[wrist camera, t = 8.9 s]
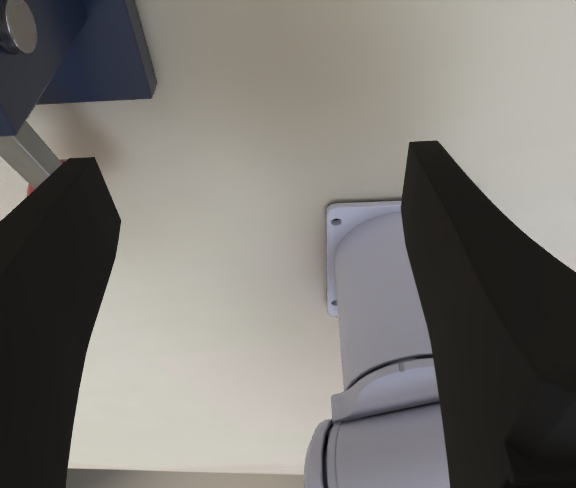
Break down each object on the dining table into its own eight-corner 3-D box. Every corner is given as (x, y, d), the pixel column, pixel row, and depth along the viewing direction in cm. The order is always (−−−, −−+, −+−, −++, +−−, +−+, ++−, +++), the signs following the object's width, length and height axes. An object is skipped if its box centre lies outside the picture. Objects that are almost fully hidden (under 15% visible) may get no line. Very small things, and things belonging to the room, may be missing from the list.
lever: (118, 180, 24) (110, 241, 23) (54, 183, 24) (43, 243, 23) (-54, -62, 13) (-87, 30, 12) (-171, -54, 13) (-214, 38, 12)
